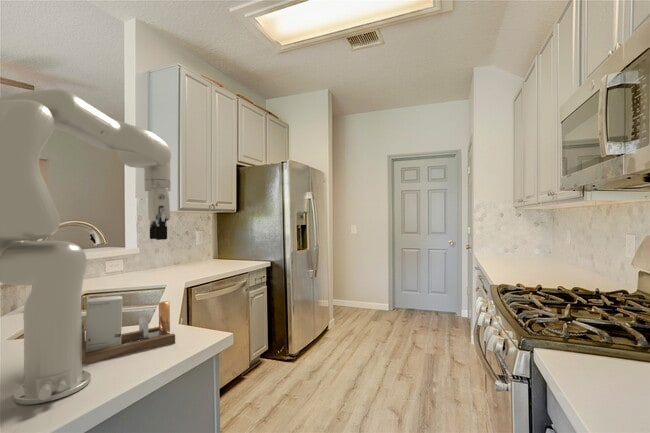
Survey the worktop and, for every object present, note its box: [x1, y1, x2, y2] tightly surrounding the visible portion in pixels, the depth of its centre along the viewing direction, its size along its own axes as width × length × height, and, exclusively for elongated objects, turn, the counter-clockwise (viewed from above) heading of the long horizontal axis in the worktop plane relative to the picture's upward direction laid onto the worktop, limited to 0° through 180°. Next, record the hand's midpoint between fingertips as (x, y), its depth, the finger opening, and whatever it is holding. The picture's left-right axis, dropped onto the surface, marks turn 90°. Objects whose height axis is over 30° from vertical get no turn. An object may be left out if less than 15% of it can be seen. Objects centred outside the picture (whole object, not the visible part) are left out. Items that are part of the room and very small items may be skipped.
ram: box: [138, 300, 171, 341], centre depth 97 cm, size 7×8×11 cm
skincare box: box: [85, 295, 123, 353], centre depth 90 cm, size 8×6×15 cm
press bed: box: [82, 321, 176, 366], centre depth 92 cm, size 12×24×8 cm, turn 129°
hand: (158, 239), depth 105 cm, fingers open, 9 cm apart
